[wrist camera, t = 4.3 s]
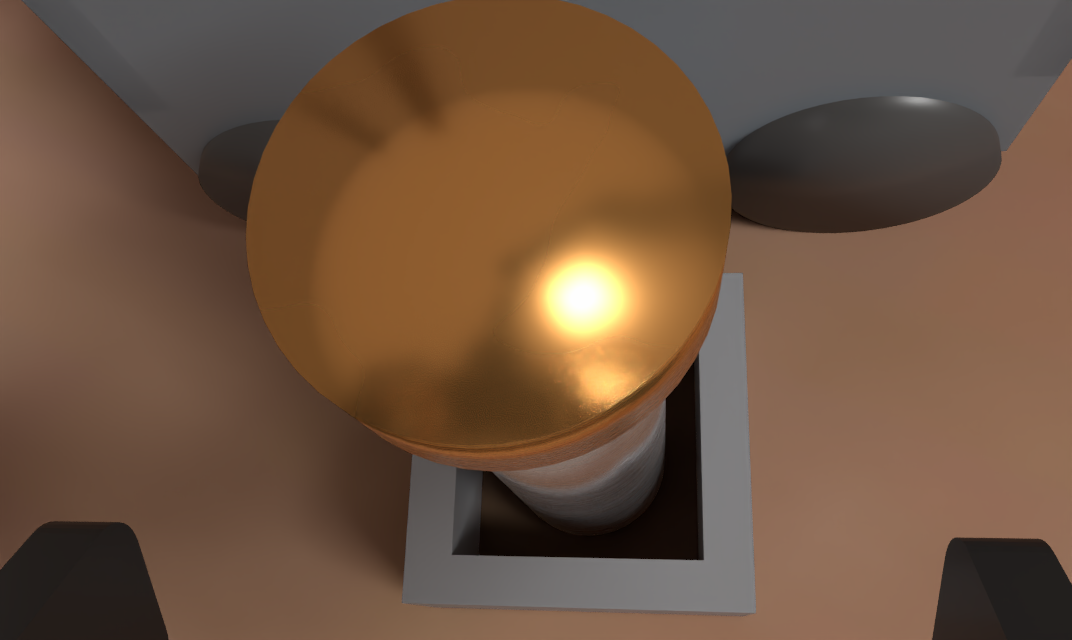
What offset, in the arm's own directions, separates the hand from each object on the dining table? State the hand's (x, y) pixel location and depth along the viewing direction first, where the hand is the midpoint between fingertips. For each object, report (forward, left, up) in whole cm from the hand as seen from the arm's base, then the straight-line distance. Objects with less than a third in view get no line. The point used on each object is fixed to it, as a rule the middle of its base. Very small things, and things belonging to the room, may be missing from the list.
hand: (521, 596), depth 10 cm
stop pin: (0, -3, -9) cm, 10 cm away
